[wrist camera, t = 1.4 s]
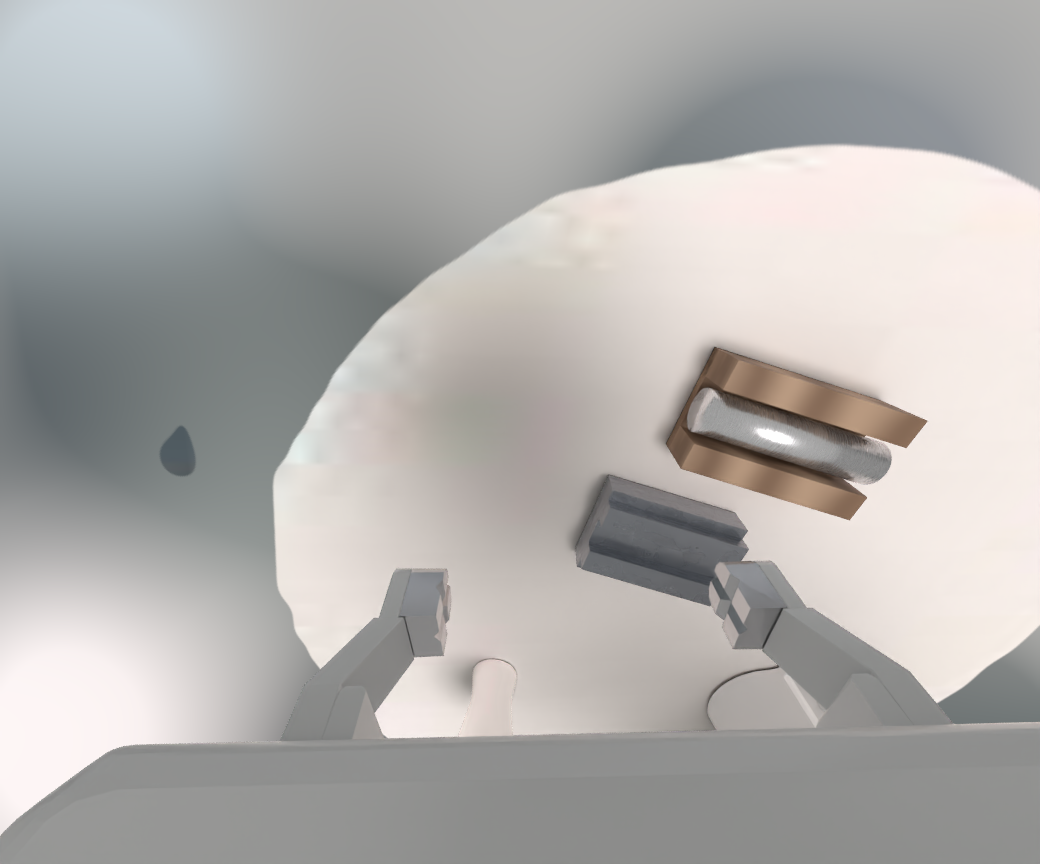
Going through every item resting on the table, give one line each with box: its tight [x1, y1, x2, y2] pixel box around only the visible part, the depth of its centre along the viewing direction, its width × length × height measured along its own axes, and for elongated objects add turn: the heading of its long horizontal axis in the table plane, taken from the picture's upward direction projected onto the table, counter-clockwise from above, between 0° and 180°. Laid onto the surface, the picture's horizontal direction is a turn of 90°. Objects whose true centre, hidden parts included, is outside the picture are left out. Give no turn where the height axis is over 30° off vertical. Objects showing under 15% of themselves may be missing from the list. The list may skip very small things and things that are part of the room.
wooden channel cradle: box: [666, 347, 927, 520], centre depth 35 cm, size 16×10×5 cm, turn 73°
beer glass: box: [458, 659, 517, 737], centre depth 48 cm, size 7×7×15 cm
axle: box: [687, 388, 891, 485], centre depth 35 cm, size 16×4×4 cm, turn 73°
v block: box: [576, 475, 749, 606], centre depth 41 cm, size 14×10×4 cm
